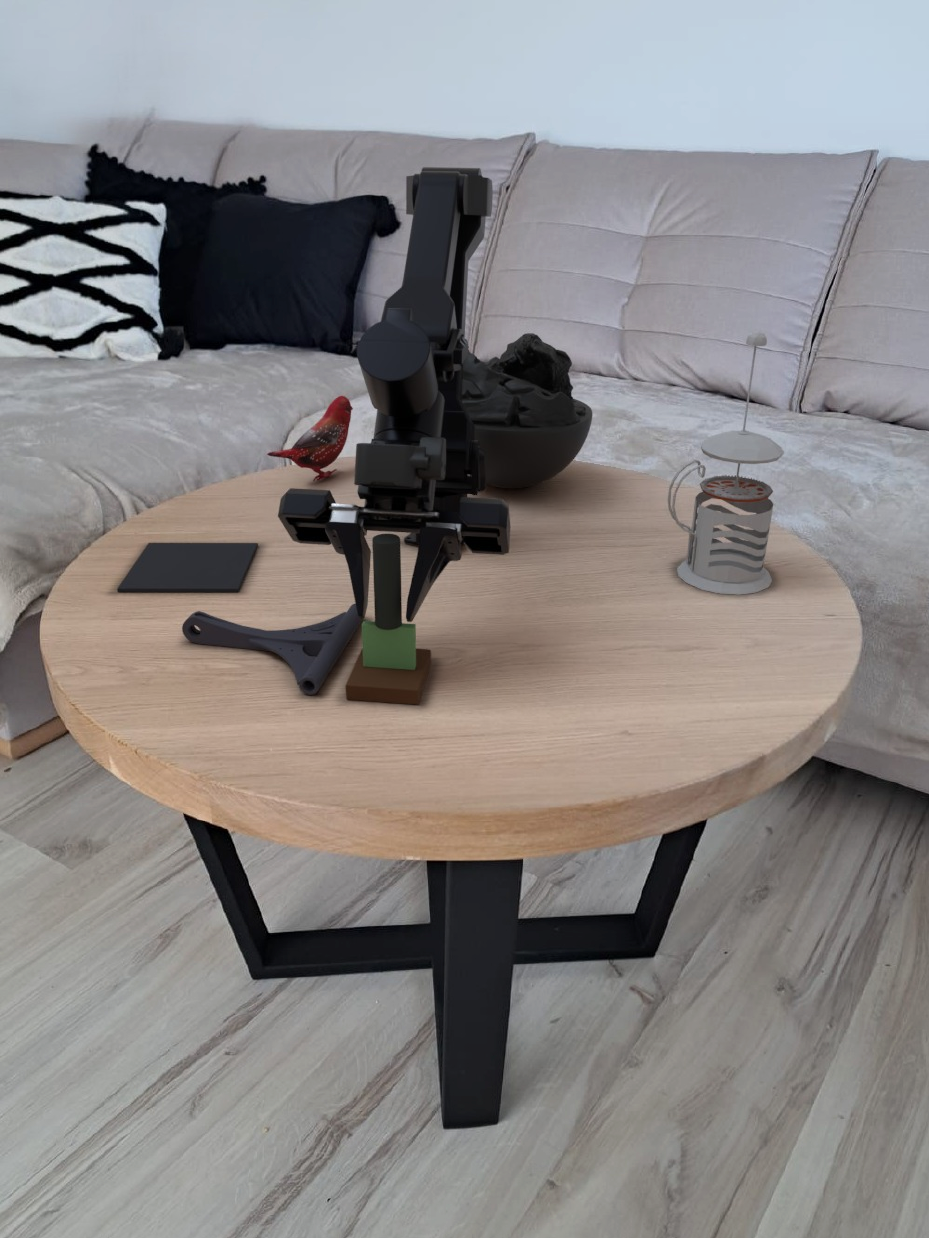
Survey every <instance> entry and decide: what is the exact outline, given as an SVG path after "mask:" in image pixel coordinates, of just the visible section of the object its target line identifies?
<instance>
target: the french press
mask: <svg viewBox="0 0 929 1238" xmlns="http://www.w3.org/2000/svg"><path fill="white" fill-rule="evenodd" d="M767 342H768V339H767V336H766V334H765V332H760V331H752V332H751V333H749V334H748V335H747V336H746V341H745V344H746V345H747V346H751V347H753V354H752V361H751V367H750V368H751V369H750V375H749V384H748V390H747V397H746V405H745V411H744V412H745V413H744V419H743V427H742V430H730V431H725V432H721V433H718V434H714V435H711V436H710V437H708V438H706V439H705V440H703V441H702V442H700V444H699V445H700V450H701V452H702V454H704V455H705V456H707V457H709V458H711V459H714V460H719V461H722V462H728V463H734V464H737V468H736V469H737V470H736V475H734V476H733V475H731V476H730V475H727V474H723V475H714V476H711V477H708V478H705V475H706V466H705V465H703V464H701V461H700V460H699V459H693V460H691V461H690V462H688V463H685V464H684V465H683V466H682V467H681V468H679V470H677V471H676V473H675V475H674V476H673V478H672V480H671V482H670V484H669V486H668V490H667V491H668V493H667V506H668V511H669V514H670V516H671V519H673V521H675V523H676V525H677V526H679V528H680V529H681V530H683V531H684V532H687V533H688V535H689V536H688V543H687V552H686V559H685V560H684V561H682V562H681V563H680V564H679V566H678V567H677V568H676V571H677V576H678V577H679V578H680V579H681V580H683V581H684V582H685V583H686V584H688V585H690V586H692V587H695V588H697V589H699V590H702V591H707V592H711V593H716V594H721V595H737V596H738V595H739V596H740V595H748V594H755V593H759V592H761V591H764V590H766V589H767V588H768V589H769V587H770V585H771V584H772V583H773V579H772V577H771V574H770V572H769V571H768V570H767V569H766V568H765V566H764V565H765V560H766V554H767V547H768V540H769V535H770V529H771V522H772V517H773V510H774V502H773V501H772V500H771V499H770V497H771V495H772V494H773V493H774V490H773V489H772V487H771V485H769V484H768V483H766V482H764V481H761V480H758V479H755V478H753V477H751V478H749V477H746V476H744V477H743V476H740V469H741V464H744V465H745V464H746V465H759V464H770V463H774V462H777V461H778V460H779V459H781V457H783V455H784V454H785V451H784V449H783V448H782V446H781V445H779V443H777V442H776V441H774V440H773V439H772V438H770V437H768V436H765V435H763V434H760V433H758V432H752V431H749V430H746V426H747V418H748V410H749V405H750V404H749V403H750V396H751V388H752V381H753V374H754V367H755V360H756V352H757V347H765V346H766V345H767ZM694 463H696V464H697V465H696V466H695V467H693V468H691V469H688V471H687V472H686V473H685V474H684V475H682V477H681V478H680V479H679V481H678V483H677V485H676V487H675V490H674V492H673V495H672V490H673V487H674V484H675V482H676V480H677V479H678V476H679V475H680V474H681V473H682V472H683V471H684V470H685V469H686V468H687V467H688V466H690V465H692V464H694ZM701 469H702V471H701ZM696 470H697V475H698V476H699V477H700V478H705V479H703V480H702V481H701V482H700V483H699V485H700V489H701V492H699V493H697V495H696V496H695V497H694V506H693V513H692V514H693V515H692V521H691V522H692V523H691V527H690V526H689V525H687V524H685V523H683V522H681V521H680V520H679V519H678V516H677V512H676V499H677V494H678V491H679V489H680V486H681V484H682V483H683V481H684V480H685V479H686V478H687V477H688V476H689V475H690V474H691V473H692V472H694V471H696ZM711 499H714V500H722V501H723V502H725V503H727V504H728V505H731V506H733V507H734V508H737V509H740V510H742V511H743V512H746V513H752V514H739V513H736V512H734V511H732V510H730V509H729V508H726V507H725V506H722V505H720V504H712V503H710V504H708V505H706V506H704V505H702V504H703V503H706V502H707V501H709V500H711ZM671 503H672V505H671ZM717 526H724V527H725V528H727V529H730V530H723V529H721V528H718V527H717ZM744 527H745V528H744ZM747 528H748V529H747ZM718 538H724V539H725V540H728V541H729V542H727V541H726V542H723V541H721V540H720V539H718Z"/></svg>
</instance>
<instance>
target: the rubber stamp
mask: <svg viewBox="0 0 929 1238" xmlns="http://www.w3.org/2000/svg"><path fill="white" fill-rule="evenodd" d="M371 541H372V568H373V569H372V570H373V572H372V573H373V601H374V602H373V603H374V621H371V620H362V623H361V645H362V646H361V647H362V648H361V650H360V652H359V654H358V656H357V659H356V661H355V663H354V666H353V668H352V670H351V672H350V674H349V677H348V679H347V681H346V683H345V699H346V700H350V701H363V702H376V703H377V702H378V703H389V704H403V705H419V704H420V701H421V697H422V694H423V691H424V687H425V684H426V681H427V677H428V674H429V671H430V668H431V665H432V649H430V648H429V649H428V648H417V639H416V638H417V632H416V631H417V629H416V627H417V625H416V624H415V623H406V622H403V612H402V611H403V608H402V607H403V605H402V604H403V603H402V558H401V557H402V555H401V554H402V553H401V537H400V536H399V535H397V534H395V533H378V534H376V535H374V536H373V537H372V539H371Z"/></svg>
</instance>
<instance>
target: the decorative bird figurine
mask: <svg viewBox="0 0 929 1238" xmlns="http://www.w3.org/2000/svg"><path fill="white" fill-rule="evenodd" d="M352 410H354V408H353V406H352V404H351V402H350V399H349V398H348V397H346V396H344V395H339V396H337V397H336V398H334V399H333V401H332V402H331V403H330V404H329V405H328V407H327V408H326V410H325V412H324V414H323V415H322V417H321V418H320V419H319V420H318V421H316V423H315V424H314V425H312V426H311V427H310V428H308V429H307V430H306V431H305V432H304V433H303V434H302V435H301V436H300V437H299V438H298V440H297V441H296V442H295V443H294V445H292V447H291V448H287V449H282V450H276V451H275V450H274V451H270V452H268V453H266V455H267V456H268V457H274V458H280V459H281V458H283V459H288V460H291V461H292V462H293V463H294V464H296V466H298V467H299V468H301V469H303V468H304V469H310V470H312V472H314V473H316V474H318V475H316V476H315V477H314V478H313V480H312V482H315V481H320V480H322V479H325V478H330V476H331V475H332V474H334V472H336V471H337V470H338V469H337V468H334V469H333V470H332V471H331V470H327V471H323V470H324V469H326V468H327V467H329V466H331V464H333V463H334V462H335V461H336V460H337V458H338V457H339V456H340V454H341V453H342V452H343V450H344V447H345V445H346V442H347V439H348V436H349V428H350V423H351V420H352V419H351V418H352ZM322 469H323V470H322Z"/></svg>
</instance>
